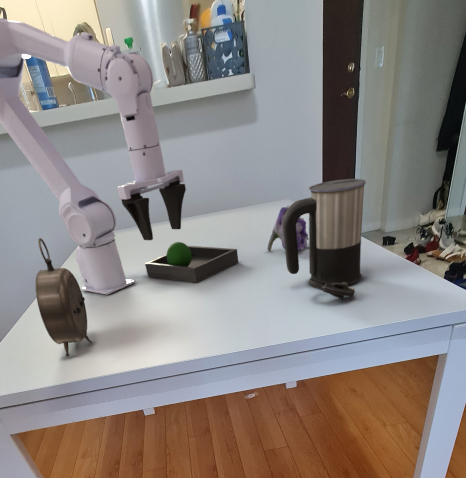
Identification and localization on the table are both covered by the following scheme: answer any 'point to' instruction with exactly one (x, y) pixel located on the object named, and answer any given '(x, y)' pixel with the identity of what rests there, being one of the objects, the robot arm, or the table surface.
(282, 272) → the table surface
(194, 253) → the tray
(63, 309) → the alarm clock
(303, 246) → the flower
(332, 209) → the milk frother
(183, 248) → the green ball
